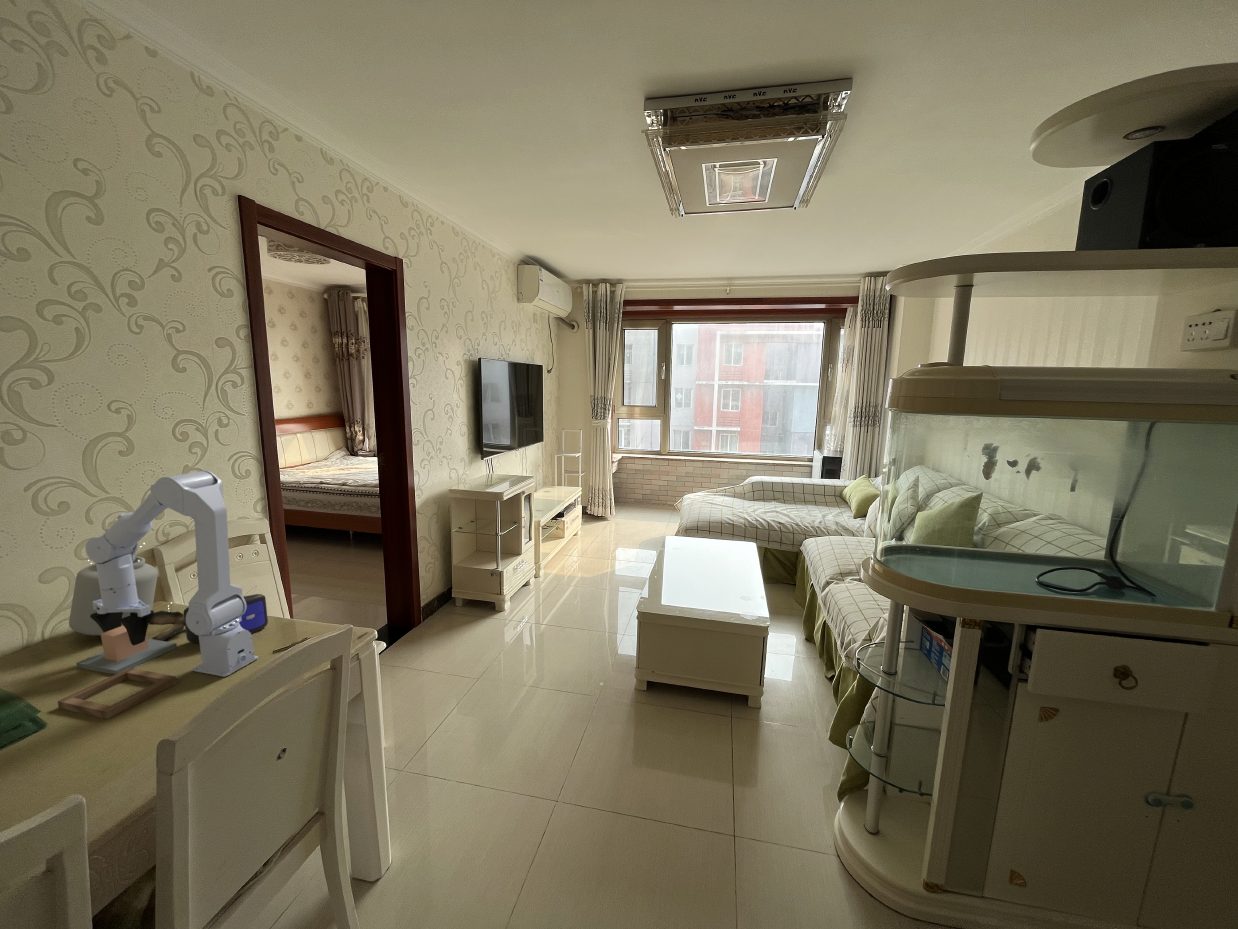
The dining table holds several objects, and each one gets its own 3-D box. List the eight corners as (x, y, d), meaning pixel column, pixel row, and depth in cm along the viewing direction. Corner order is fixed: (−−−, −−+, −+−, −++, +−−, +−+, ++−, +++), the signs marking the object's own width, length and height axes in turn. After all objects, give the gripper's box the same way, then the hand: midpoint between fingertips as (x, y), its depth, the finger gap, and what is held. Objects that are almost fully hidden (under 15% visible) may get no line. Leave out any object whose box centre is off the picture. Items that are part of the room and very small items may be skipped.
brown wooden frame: (176, 683, 106) (175, 676, 106) (107, 719, 94) (106, 712, 94) (130, 674, 109) (130, 667, 109) (58, 708, 97) (57, 701, 97)
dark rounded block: (185, 650, 119) (180, 613, 117) (188, 641, 123) (183, 605, 121) (268, 632, 128) (264, 597, 126) (268, 625, 131) (265, 591, 130)
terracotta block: (148, 648, 117) (144, 624, 117) (117, 661, 112) (113, 636, 111) (136, 645, 118) (132, 622, 118) (104, 658, 113) (100, 634, 112)
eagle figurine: (187, 618, 132) (141, 625, 124) (195, 599, 130) (150, 605, 123) (195, 640, 129) (149, 649, 121) (204, 621, 127) (158, 629, 119)
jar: (172, 607, 141) (161, 522, 137) (175, 626, 130) (162, 534, 126) (74, 629, 128) (59, 535, 124) (68, 651, 117) (50, 550, 113)
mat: (176, 647, 120) (176, 643, 120) (117, 674, 108) (116, 670, 108) (139, 640, 123) (138, 636, 122) (77, 667, 111) (76, 662, 111)
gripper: (72, 588, 111) (81, 645, 113) (120, 595, 107) (129, 654, 109) (110, 577, 117) (119, 630, 119) (157, 583, 114) (165, 638, 116)
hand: (126, 641), depth 115 cm, fingers open, 7 cm apart
